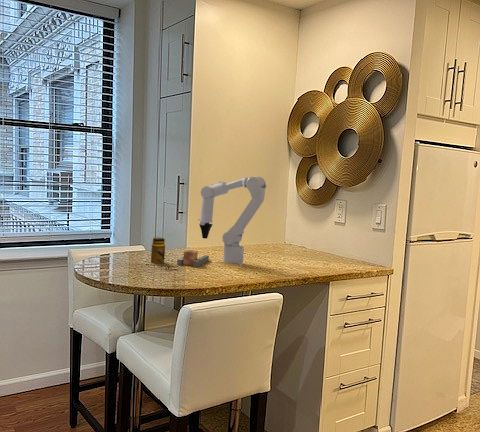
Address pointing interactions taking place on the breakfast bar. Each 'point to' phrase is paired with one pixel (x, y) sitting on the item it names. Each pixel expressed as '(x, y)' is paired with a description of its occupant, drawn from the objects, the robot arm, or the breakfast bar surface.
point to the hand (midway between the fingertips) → (204, 238)
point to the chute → (196, 262)
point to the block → (189, 257)
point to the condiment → (158, 251)
